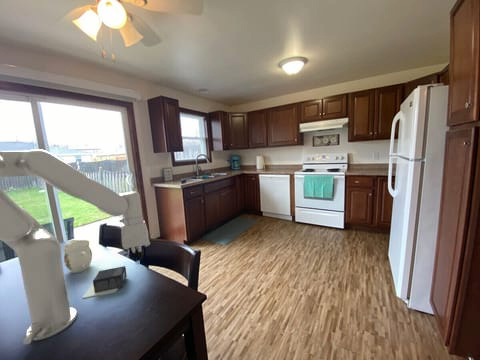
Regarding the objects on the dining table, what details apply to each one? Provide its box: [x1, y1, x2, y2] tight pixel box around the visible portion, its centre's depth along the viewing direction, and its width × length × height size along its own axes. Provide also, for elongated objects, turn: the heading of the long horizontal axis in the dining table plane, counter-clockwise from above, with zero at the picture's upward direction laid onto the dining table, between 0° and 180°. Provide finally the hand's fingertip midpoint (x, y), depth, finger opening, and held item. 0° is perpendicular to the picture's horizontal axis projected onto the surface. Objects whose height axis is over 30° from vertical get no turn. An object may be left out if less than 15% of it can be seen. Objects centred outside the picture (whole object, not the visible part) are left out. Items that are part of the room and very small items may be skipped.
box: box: [92, 265, 128, 293], centre depth 89 cm, size 8×6×11 cm
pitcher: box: [62, 239, 93, 274], centre depth 103 cm, size 11×18×14 cm, turn 57°
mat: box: [82, 283, 119, 299], centre depth 89 cm, size 12×12×1 cm
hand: (138, 259), depth 92 cm, fingers closed
